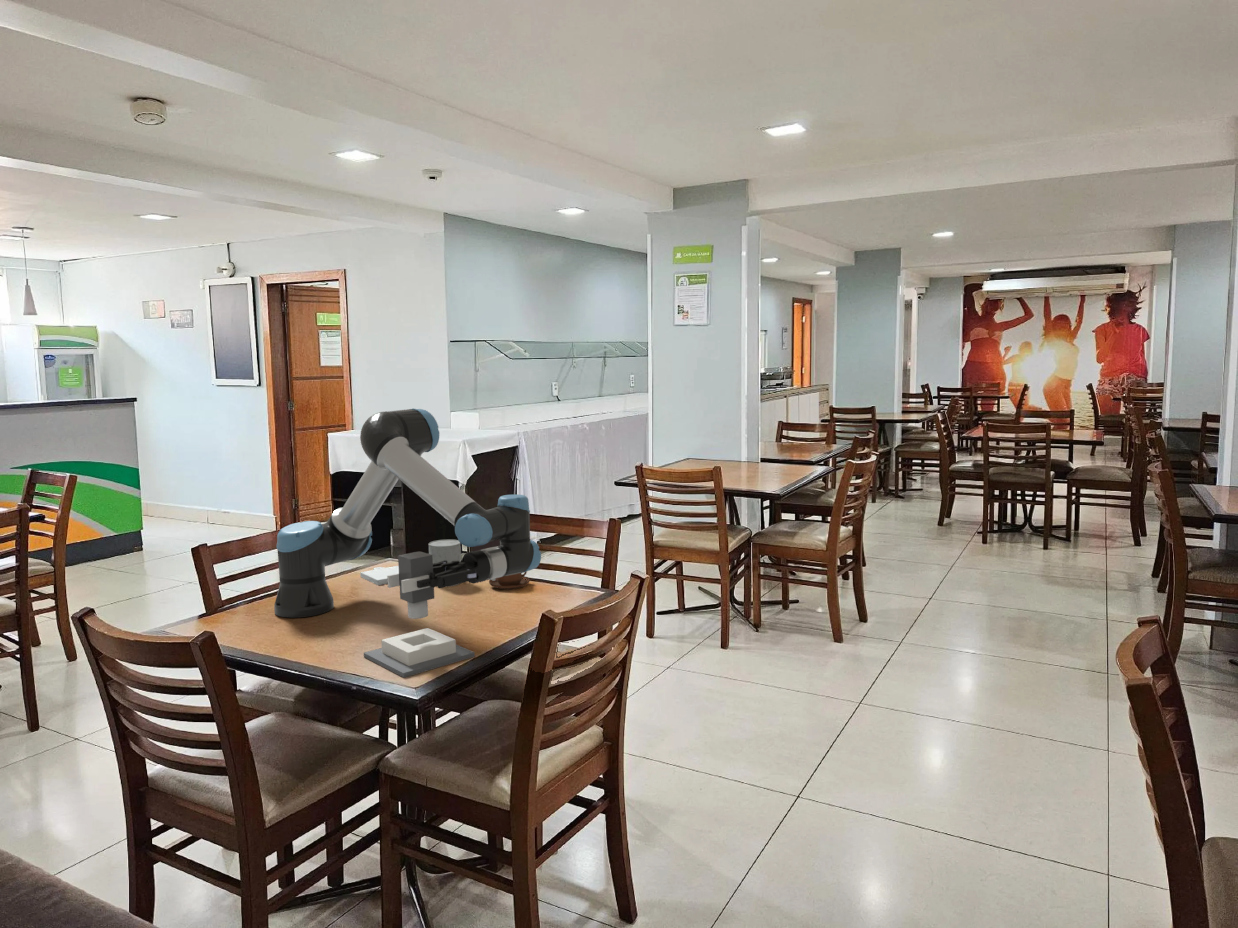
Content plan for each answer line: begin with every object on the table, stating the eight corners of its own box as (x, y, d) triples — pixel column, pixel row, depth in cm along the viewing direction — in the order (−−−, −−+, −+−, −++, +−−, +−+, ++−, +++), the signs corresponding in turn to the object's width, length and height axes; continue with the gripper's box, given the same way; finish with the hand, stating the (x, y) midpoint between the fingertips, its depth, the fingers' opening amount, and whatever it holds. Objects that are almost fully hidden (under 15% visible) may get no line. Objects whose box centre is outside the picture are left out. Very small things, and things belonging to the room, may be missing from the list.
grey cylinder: (455, 587, 253) (453, 546, 252) (424, 586, 255) (423, 545, 253) (467, 579, 262) (465, 539, 261) (437, 577, 264) (436, 538, 263)
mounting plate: (357, 576, 269) (357, 570, 269) (396, 569, 277) (395, 564, 277) (381, 588, 255) (380, 581, 255) (421, 580, 263) (420, 574, 263)
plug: (401, 615, 194) (397, 555, 192) (422, 610, 198) (419, 551, 196) (413, 620, 190) (410, 559, 188) (435, 615, 194) (432, 554, 192)
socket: (363, 656, 195) (362, 639, 195) (432, 638, 208) (432, 622, 207) (403, 677, 182) (402, 659, 182) (474, 656, 195) (474, 639, 194)
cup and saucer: (505, 579, 262) (505, 559, 261) (537, 584, 256) (537, 564, 255) (480, 589, 252) (480, 568, 251) (513, 594, 246) (512, 573, 245)
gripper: (506, 587, 199) (417, 608, 183) (462, 573, 212) (376, 592, 196) (505, 555, 198) (416, 574, 182) (460, 544, 211) (374, 560, 195)
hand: (395, 584), depth 189 cm, fingers closed on plug, 5 cm apart
